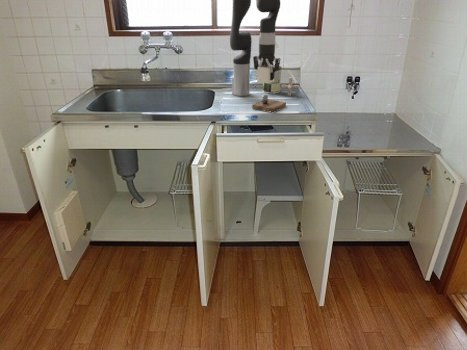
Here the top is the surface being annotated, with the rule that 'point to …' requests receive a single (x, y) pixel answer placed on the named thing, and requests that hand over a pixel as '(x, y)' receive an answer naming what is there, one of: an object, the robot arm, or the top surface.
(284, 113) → the top surface
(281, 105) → the board
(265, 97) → the metal cylinder puck
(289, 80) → the pipe connector
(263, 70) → the cream rectangular block
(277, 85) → the coffee can
